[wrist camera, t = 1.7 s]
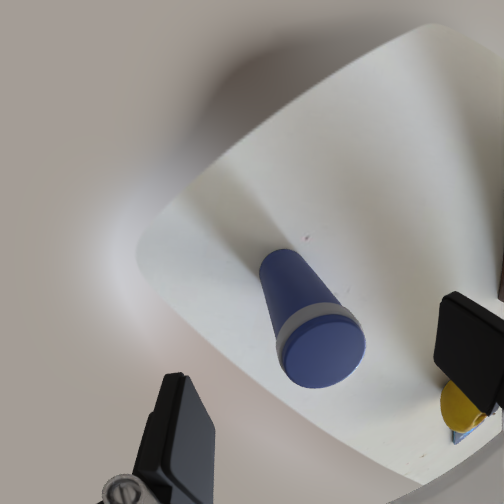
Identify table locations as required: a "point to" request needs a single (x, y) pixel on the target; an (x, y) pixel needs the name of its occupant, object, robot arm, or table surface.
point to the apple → (459, 410)
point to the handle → (309, 323)
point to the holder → (502, 285)
